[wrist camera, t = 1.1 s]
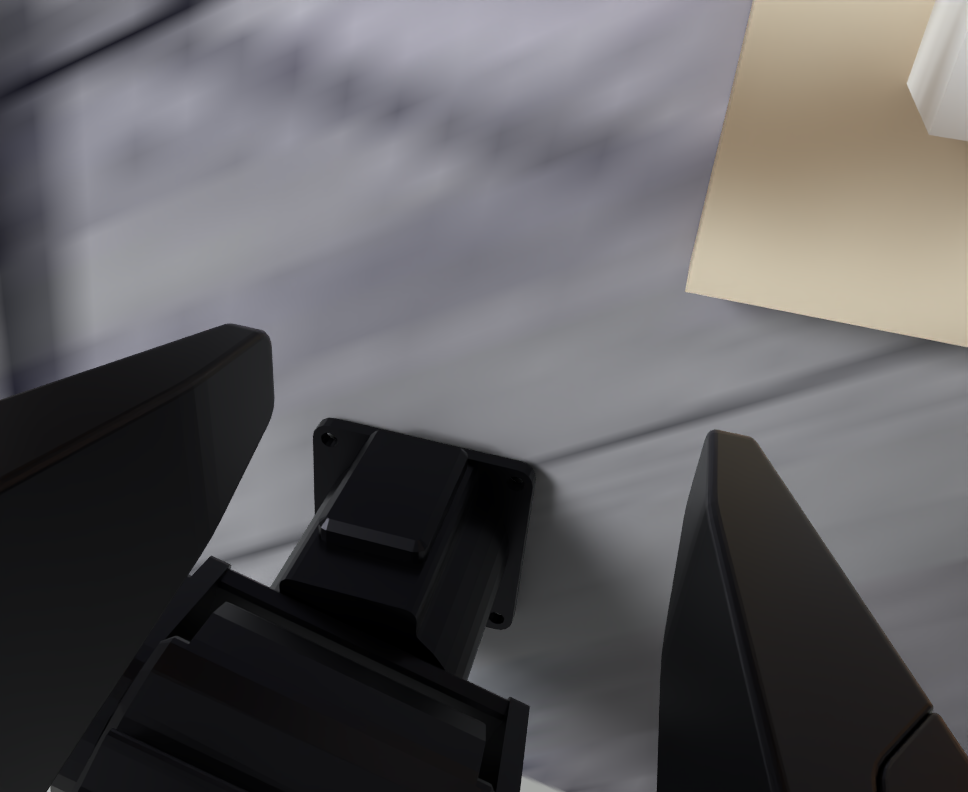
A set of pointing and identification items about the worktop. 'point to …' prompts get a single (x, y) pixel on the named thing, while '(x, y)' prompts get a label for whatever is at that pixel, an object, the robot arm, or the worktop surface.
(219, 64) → the worktop surface
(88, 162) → the worktop surface
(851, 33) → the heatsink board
